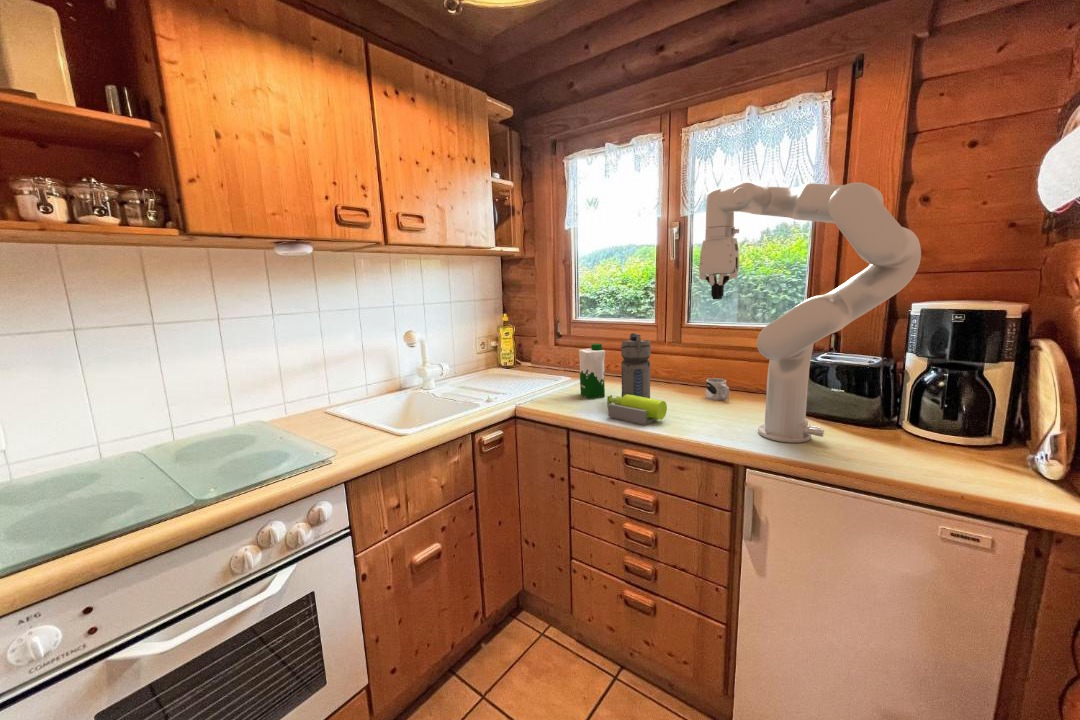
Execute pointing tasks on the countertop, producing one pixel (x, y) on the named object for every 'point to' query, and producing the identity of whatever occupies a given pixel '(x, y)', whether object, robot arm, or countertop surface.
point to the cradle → (629, 414)
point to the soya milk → (592, 372)
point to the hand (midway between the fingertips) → (717, 299)
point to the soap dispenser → (641, 404)
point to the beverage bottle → (636, 366)
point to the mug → (716, 389)
